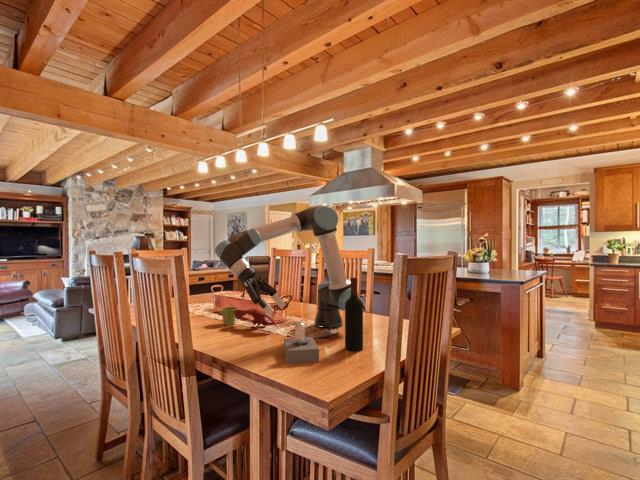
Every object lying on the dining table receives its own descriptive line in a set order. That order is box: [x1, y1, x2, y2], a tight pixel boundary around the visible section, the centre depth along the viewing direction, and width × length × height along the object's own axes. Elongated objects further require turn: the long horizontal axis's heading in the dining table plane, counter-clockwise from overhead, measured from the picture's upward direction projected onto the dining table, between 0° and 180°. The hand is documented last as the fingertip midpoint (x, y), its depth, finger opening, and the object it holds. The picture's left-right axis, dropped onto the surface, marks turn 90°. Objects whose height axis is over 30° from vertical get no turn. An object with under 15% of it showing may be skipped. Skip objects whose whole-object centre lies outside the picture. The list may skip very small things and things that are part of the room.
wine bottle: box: [344, 277, 364, 353], centre depth 147 cm, size 8×8×30 cm
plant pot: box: [219, 306, 239, 326], centre depth 190 cm, size 9×9×9 cm
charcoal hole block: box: [283, 336, 320, 365], centre depth 138 cm, size 12×16×5 cm
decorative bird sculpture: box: [234, 308, 277, 330], centre depth 181 cm, size 28×9×15 cm
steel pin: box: [294, 321, 306, 346], centre depth 138 cm, size 4×4×12 cm
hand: (278, 309), depth 140 cm, fingers open, 13 cm apart
